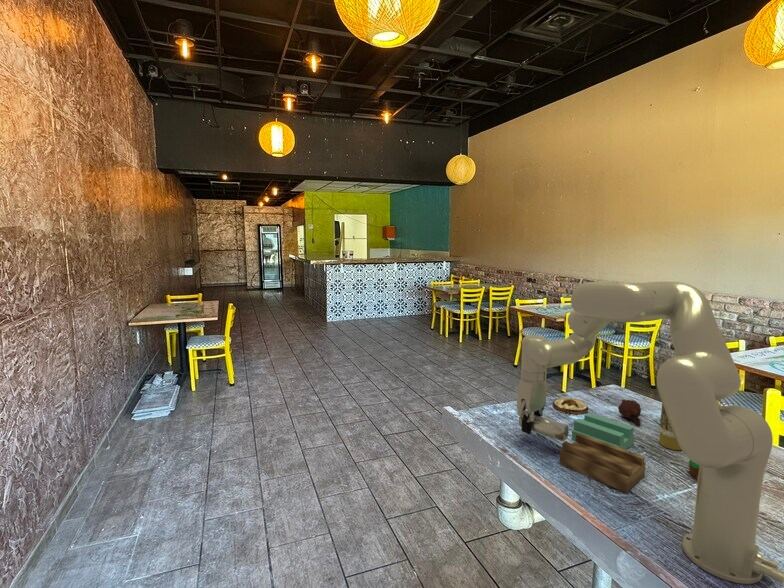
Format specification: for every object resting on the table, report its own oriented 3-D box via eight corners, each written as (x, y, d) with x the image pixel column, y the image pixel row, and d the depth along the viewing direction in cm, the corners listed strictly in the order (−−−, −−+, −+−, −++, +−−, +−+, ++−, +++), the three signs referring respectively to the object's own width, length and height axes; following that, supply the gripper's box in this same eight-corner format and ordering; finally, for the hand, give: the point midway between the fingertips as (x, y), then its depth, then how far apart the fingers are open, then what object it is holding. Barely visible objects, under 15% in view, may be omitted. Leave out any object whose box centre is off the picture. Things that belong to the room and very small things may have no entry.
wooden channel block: (644, 476, 111) (646, 455, 111) (626, 493, 104) (628, 470, 103) (579, 450, 125) (580, 431, 124) (559, 463, 118) (560, 444, 117)
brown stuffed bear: (610, 393, 156) (624, 412, 141) (631, 389, 154) (647, 408, 140) (613, 409, 157) (628, 430, 142) (634, 406, 155) (651, 427, 141)
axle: (568, 439, 124) (569, 423, 124) (559, 443, 121) (560, 426, 120) (527, 425, 135) (527, 410, 134) (518, 428, 131) (519, 413, 131)
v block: (633, 444, 129) (635, 426, 128) (617, 456, 121) (618, 437, 121) (589, 428, 140) (590, 412, 139) (571, 439, 132) (572, 421, 131)
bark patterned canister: (689, 452, 124) (696, 372, 121) (664, 450, 125) (671, 371, 122) (678, 441, 131) (685, 365, 127) (655, 439, 132) (661, 364, 129)
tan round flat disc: (587, 403, 162) (588, 393, 162) (594, 419, 148) (595, 408, 148) (548, 399, 166) (548, 389, 166) (551, 414, 152) (551, 404, 152)
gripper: (537, 367, 137) (535, 418, 139) (507, 377, 126) (505, 433, 128) (558, 372, 131) (556, 426, 133) (528, 384, 120) (526, 442, 123)
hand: (531, 429), depth 131 cm, fingers closed on axle, 5 cm apart
